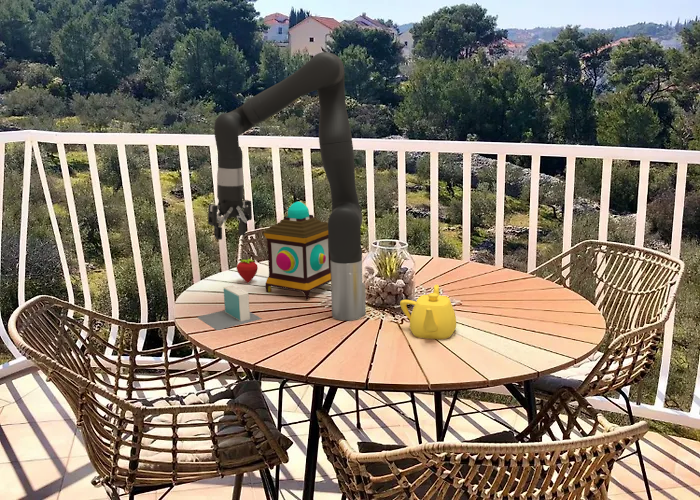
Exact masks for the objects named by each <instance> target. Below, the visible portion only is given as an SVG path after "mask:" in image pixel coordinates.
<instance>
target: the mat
mask: <svg viewBox="0 0 700 500" xmlns="http://www.w3.org/2000/svg"><path fill="white" fill-rule="evenodd" d="M196 318H197V319H198V320H200V321H202V322H203V323H205V324H206V325H208V326H210V327H211V328H213V329H214V330H216V331H221V330H223V329H228V328H231V327H235V326H239V325H244V324H248V323H251V322H256V321H259V320H263V318H262V317H260V316H258V315H256V314H255V313H253V312H251V311H250V319H249V320H245V321H239V320H237V319H236V318H234V317H232V316H231V315H229V314H227V313H226V312H225V309H224V310H220V311H214V312H211V313H207V314H203V315H199V316H196Z"/></svg>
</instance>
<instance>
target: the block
mask: <svg viewBox="0 0 700 500" xmlns="http://www.w3.org/2000/svg"><path fill="white" fill-rule="evenodd" d="M223 299H224V300H223V302H224V310H225V312H226V313H227V314H229V315H231V316H232V317H234V318H236V319H237V320H239V321H245V320H249V319H250V312H251V310H250V297H249V292H247V291H245V290H243V289H241V288H239V287H237V286H235V285H227V286H224V287H223Z"/></svg>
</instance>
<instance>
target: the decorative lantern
mask: <svg viewBox="0 0 700 500" xmlns="http://www.w3.org/2000/svg"><path fill="white" fill-rule="evenodd" d="M263 235H264V237H265V239H266V242H267V260H268V261H267V263H268V276H267V279H266V281H265V288H264V289H265V292H266V293H271V292H272V287H274V288H280V289H285V290H291V291H296V292H301V293H303V294H304V295H303V296H304V299H305V301H308V300H310V294H311V292H312V291H314V290H316V289H318V288H320V287H323V286H324V285H326V284H329V283H331V261H330V252H329V239H328V221H321V220H320V219H318V218H317V217H314V215H313V214H310V211H309V207H308V206H307V205H305V204H304V203H303V202H301V201H295V202H293V203H292V204H290V206H289V207H288V209H287V215H285V216H283V219H281V220H280V221H279V222H277V223H276V224H272V225H270V226H269V227H268V228H266V229H265V231H264V232H263Z"/></svg>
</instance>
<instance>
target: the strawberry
mask: <svg viewBox="0 0 700 500" xmlns="http://www.w3.org/2000/svg"><path fill="white" fill-rule="evenodd" d="M258 269H259V268H258V264H257V263H256V262H255V260H254V259H252V258H247V259H240V260H239V262H238V264H237V265H236V271H237V273H238V275H239V276H240V277H241V279H243V281H244V282H245V283H247V284H248V283H249V284H250V282H251V281H252V280H253V279H254V277H255V276H256V275H257V273H258Z"/></svg>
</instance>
